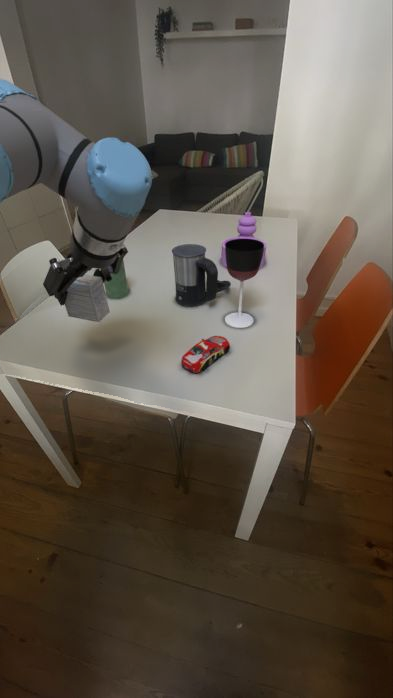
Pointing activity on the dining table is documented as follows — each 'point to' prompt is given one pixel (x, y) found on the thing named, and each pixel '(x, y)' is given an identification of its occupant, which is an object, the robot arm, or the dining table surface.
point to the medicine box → (87, 299)
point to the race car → (205, 353)
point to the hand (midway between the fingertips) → (77, 293)
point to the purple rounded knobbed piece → (244, 235)
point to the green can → (117, 284)
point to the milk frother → (195, 275)
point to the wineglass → (242, 272)
